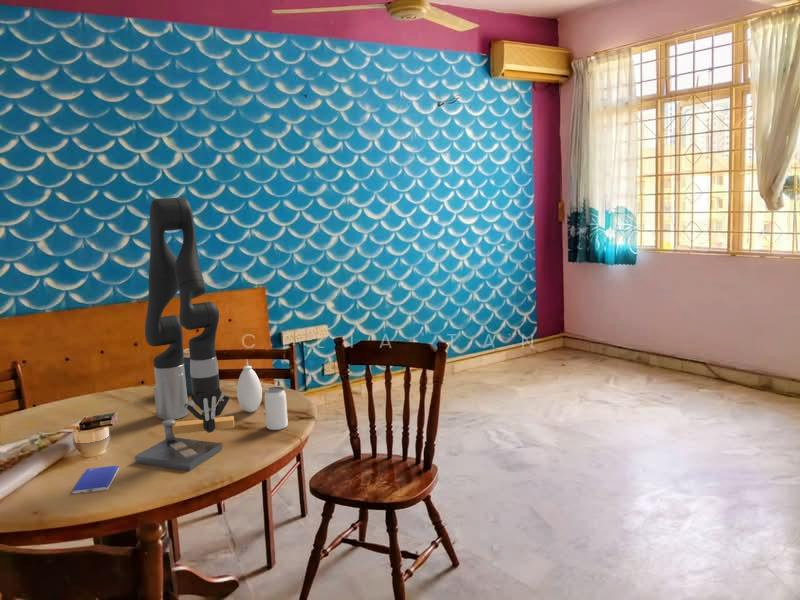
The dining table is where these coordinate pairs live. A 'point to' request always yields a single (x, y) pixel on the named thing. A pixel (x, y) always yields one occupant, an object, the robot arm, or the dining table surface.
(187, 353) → the canister
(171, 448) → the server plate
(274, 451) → the dining table surface
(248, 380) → the sauce bottle
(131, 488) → the dining table surface
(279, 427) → the can
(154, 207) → the robot arm
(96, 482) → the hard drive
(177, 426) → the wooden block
